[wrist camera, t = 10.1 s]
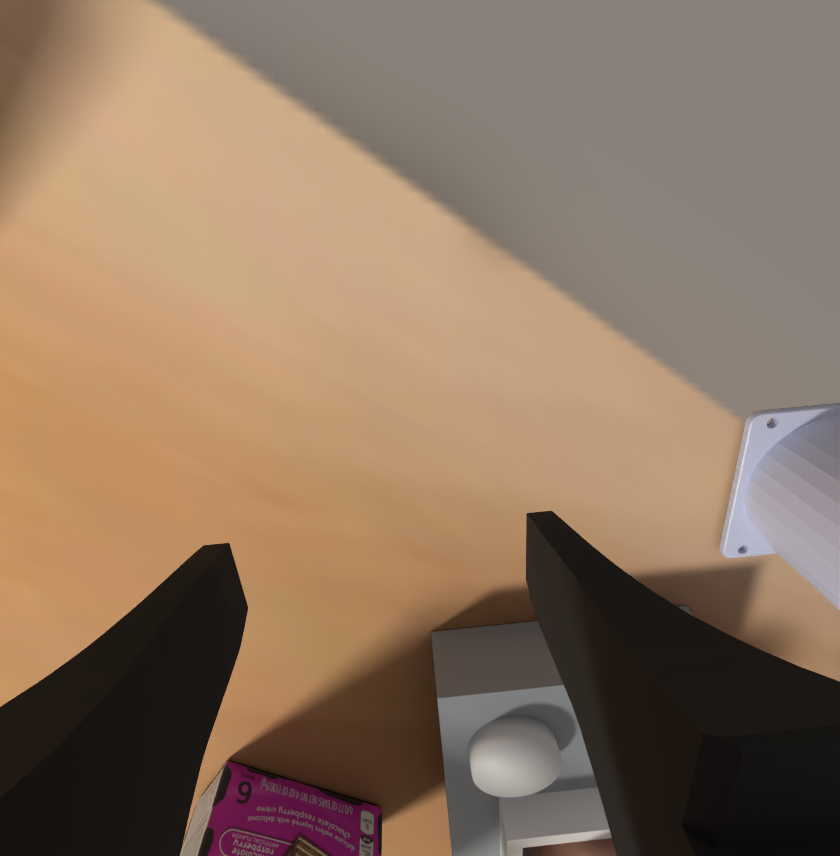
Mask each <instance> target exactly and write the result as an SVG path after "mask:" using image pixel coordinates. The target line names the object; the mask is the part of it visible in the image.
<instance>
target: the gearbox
mask: <svg viewBox="0 0 840 856" xmlns="http://www.w3.org/2000/svg"><path fill="white" fill-rule="evenodd" d="M677 607H679V608H680V609H682V610H684V611H685V612H687V613H689V614H690V615H692V616H694V615H693V614H692V612H691V611H690V610H689V608H688V607H687V606H677ZM431 639H432V649H433V660H434V670H435V681H436V691H437V702H438V712H439V723H440V733H441V744H442V754H443V765H444V775H445V785H446V796H447V806H448V817H449V827H450V838H451V848H452V856H533V855H532V851H531V847H535V846H544V845H553V844H562V843H571V842H580V841H589V840H598V839H607V838H612V837H611V833H610V829H609V826H608V822H607V818H606V815H605V811H604V808H603V804H602V801H601V797H600V794H599V790H598V787H597V783H596V780H595V777H594V773H593V770H592V766H591V763H590V760H589V756H588V753H587V750H586V746H585V743H584V740H583V737H582V733H581V730H580V727H579V723H578V721H577V718H576V715H575V712H574V710H573V707H572V704H571V702H570V699H569V697H568V694H567V692H566V689H565V687H564V684H563V682H562V680H561V677H560V675H559V672H558V670H557V667H556V665H555V663H554V660H553V658H552V655H551V653H550V650H549V648H548V645H547V643H546V640H545V638H544V635H543V633H542V631H541V628H540V626H539V623H538V621H531V622H522V623H512V624H502V625H493V626H483V627H473V628H464V629H454V630H444V631H435V632H431Z"/></svg>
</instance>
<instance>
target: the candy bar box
mask: <svg viewBox="0 0 840 856" xmlns="http://www.w3.org/2000/svg"><path fill="white" fill-rule="evenodd" d="M381 849H382V809H381V808H380V807H377V806H374V805H370V804H367V803H364V802H360V801H357V800H354V799H350V798H347V797H344V796H341V795H337V794H334V793H331V792H327V791H324V790H321V789H318V788H314V787H311V786H308V785H305V784H301V783H298V782H295V781H291V780H288V779H285V778H281V777H278V776H275V775H272V774H269V773H265V772H262V771H259V770H256V769H253V768H249V767H246V766H243V765H240V764H236V763H233V762H230V761H227V762H226V763H225V764H224V765H223V767H222V768H221V769H220V771H219V773H218V775H217V776H216V778H215V779H214V781H213V782H212V783H211V784H210V786H209V787H208V788H207V789H206V791H205V792H204V793H203V795H202V797H201V798H200V799H199V800H198V802H197V804H196V806H195V809H194V812H193V815H192V818H191V821H190V824H189V827H188V830H187V834H186V837H185V840H184V843H183V848H182V851H181V854H180V856H381Z"/></svg>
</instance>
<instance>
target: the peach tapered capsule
mask: <svg viewBox="0 0 840 856" xmlns="http://www.w3.org/2000/svg"><path fill="white" fill-rule="evenodd" d="M531 851H532V855H533V856H617V855H616V851H615V848H614V844H613V840H612V838H607V839H598V840H589V841H580V842H571V843H562V844H553V845H544V846H535V847H531Z"/></svg>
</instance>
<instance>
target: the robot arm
mask: <svg viewBox="0 0 840 856" xmlns="http://www.w3.org/2000/svg"><path fill="white" fill-rule="evenodd" d="M771 418H773V419H772V421H771V422H770V423H769V424H767V422H768V421H769V420H770V419H771ZM741 546H742V547H741ZM740 547H741V548H740ZM720 552H721V553H722V554H723V555H724V556H725V557H727V558H737V557H746V556H756V555H766V554H776V553H778V554H779V555H780V556H781V557H782V558H783V559H784V560H785V561H786V562H788V563H789V564H790V565H791V566H792V567H793V568H794V569H795V570H796V571H797V572H798V573H799V574H801V575H802V576H803V577H804V578H805V579H806V580H807V581H808V582H809V583H810V584H811V585H812V586H814V587H815V588H816V589H817V590H818V591H819V592H820V593H821V594H822V595H823V596H824V597H825V598H827V599H828V600H829V601H830V602H831V603H832V604H833V605H834V606H835V607H836V608H837V609H838V610H840V403H835V404H825V405H814V406H804V407H793V408H783V409H773V410H763V411H756V412H754V413H752V414H751V415H750V416H749V417H748V418H747V420H746V423H745V428H744V432H743V437H742V442H741V447H740V452H739V456H738V461H737V466H736V471H735V476H734V480H733V485H732V490H731V495H730V500H729V504H728V509H727V514H726V519H725V524H724V528H723V533H722V538H721V543H720ZM526 581H527V585H528V589H529V593H530V597H531V600H532V604H533V607H534V611H535V615H536V618H537V620H538V623H539V626H540V628H541V631H542V633H543V635H544V638H545V640H546V643H547V645H548V648H549V650H550V653H551V655H552V658H553V660H554V663H555V665H556V667H557V670H558V672H559V675H560V677H561V680H562V682H563V684H564V687H565V689H566V692H567V694H568V697H569V699H570V702H571V704H572V707H573V710H574V712H575V715H576V718H577V721H578V723H579V727H580V730H581V733H582V737H583V740H584V743H585V746H586V750H587V753H588V756H589V760H590V763H591V766H592V770H593V773H594V777H595V780H596V783H597V787H598V790H599V794H600V797H601V801H602V804H603V808H604V811H605V815H606V818H607V822H608V826H609V829H610V833H611V837H612V840H613V844H614V848H615V851H616V855H617V856H840V682H839V681H836V680H834V679H831V678H828V677H826V676H823V675H820V674H818V673H815V672H812V671H810V670H807V669H804V668H801V667H799V666H797V665H794V664H792V663H789V662H787V661H785V660H782V659H780V658H778V657H776V656H773V655H771V654H769V653H766V652H764V651H762V650H759V649H757V648H755V647H753V646H751V645H749V644H747V643H744V642H742V641H740V640H738V639H736V638H734V637H732V636H730V635H728V634H726V633H724V632H722V631H720V630H718V629H716V628H715V627H713V626H711V625H709V624H707V623H705V622H703V621H701V620H699V619H698V618H696V617H694V616H692V615H690V614H689V613H687V612H685V611H684V610H682V609H680V608H679V607H677V606H675V605H674V604H672V603H670V602H669V601H667V600H666V599H664V598H662V597H661V596H659V595H657V594H656V593H654V592H653V591H651V590H650V589H648V588H647V587H645V586H644V585H643V584H641V583H640V582H638V581H637V580H636V579H634V578H633V577H631V576H630V575H629V574H627V573H626V572H624V571H623V570H622V569H620V568H619V567H618V566H616V565H615V564H614V563H612V562H611V561H610V560H609V559H608V558H606V557H605V556H604V555H603V554H601V553H600V552H599V551H598V550H596V549H595V548H594V547H593V546H592V545H590V544H589V543H588V542H587V541H586V540H585V539H583V538H582V537H581V536H580V535H579V534H578V533H576V532H575V531H574V530H573V529H572V528H571V527H570V526H569V525H567V524H566V523H565V522H564V521H563V520H562V519H561V518H559V517H558V516H557V515H556V514H555V513H554V512H552V511H545V512H535V513H527V532H526ZM247 611H248V606H247V602H246V599H245V595H244V592H243V589H242V585H241V582H240V578H239V575H238V571H237V568H236V565H235V561H234V558H233V554H232V551H231V548H230V544H229V543H224V544H214V545H204V546H203V547H201V548H200V549H199V550H198V551H197V552H195V553H194V554H193V555H192V556H191V557H190V558H189V559H188V560H186V561H185V562H184V563H183V564H182V565H181V566H180V567H179V568H178V569H177V570H176V571H175V572H173V573H172V574H171V575H170V576H169V577H168V578H167V579H166V580H165V581H164V582H163V583H162V584H160V585H159V586H158V587H157V588H156V589H155V590H154V591H153V592H152V593H151V594H149V595H148V596H147V597H146V598H145V599H144V600H143V601H142V602H141V603H139V604H138V605H137V606H136V607H135V608H134V609H133V610H131V611H130V612H129V613H128V614H127V615H125V616H124V617H123V618H122V619H121V620H119V621H118V622H117V623H116V624H115V625H114V626H112V627H111V628H110V629H109V630H108V631H106V632H105V633H104V634H103V635H102V636H100V637H99V638H98V639H97V640H95V641H94V642H93V643H92V644H90V645H89V646H88V647H87V648H85V649H84V650H83V651H81V652H80V653H79V654H77V655H76V656H75V657H73V658H72V659H71V660H69V661H68V662H66V663H65V664H64V665H62V666H61V667H60V668H58V669H57V670H55V671H54V672H53V673H51V674H50V675H48V676H47V677H45V678H44V679H43V680H41V681H40V682H38V683H37V684H35V685H33V686H32V687H30V688H29V689H27V690H26V691H24V692H23V693H21V694H20V695H18V696H17V697H15V698H13V699H12V700H10V701H9V702H7V703H6V704H4V705H3V706H1V707H0V856H180V853H181V849H182V844H183V840H184V835H185V830H186V826H187V821H188V817H189V812H190V808H191V804H192V800H193V796H194V792H195V787H196V783H197V779H198V775H199V771H200V767H201V763H202V760H203V756H204V753H205V750H206V746H207V743H208V740H209V737H210V734H211V731H212V729H213V726H214V723H215V720H216V717H217V714H218V711H219V708H220V706H221V703H222V700H223V697H224V694H225V691H226V688H227V685H228V682H229V680H230V677H231V674H232V671H233V668H234V665H235V662H236V659H237V656H238V653H239V650H240V646H241V641H242V637H243V632H244V627H245V622H246V616H247Z"/></svg>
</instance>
